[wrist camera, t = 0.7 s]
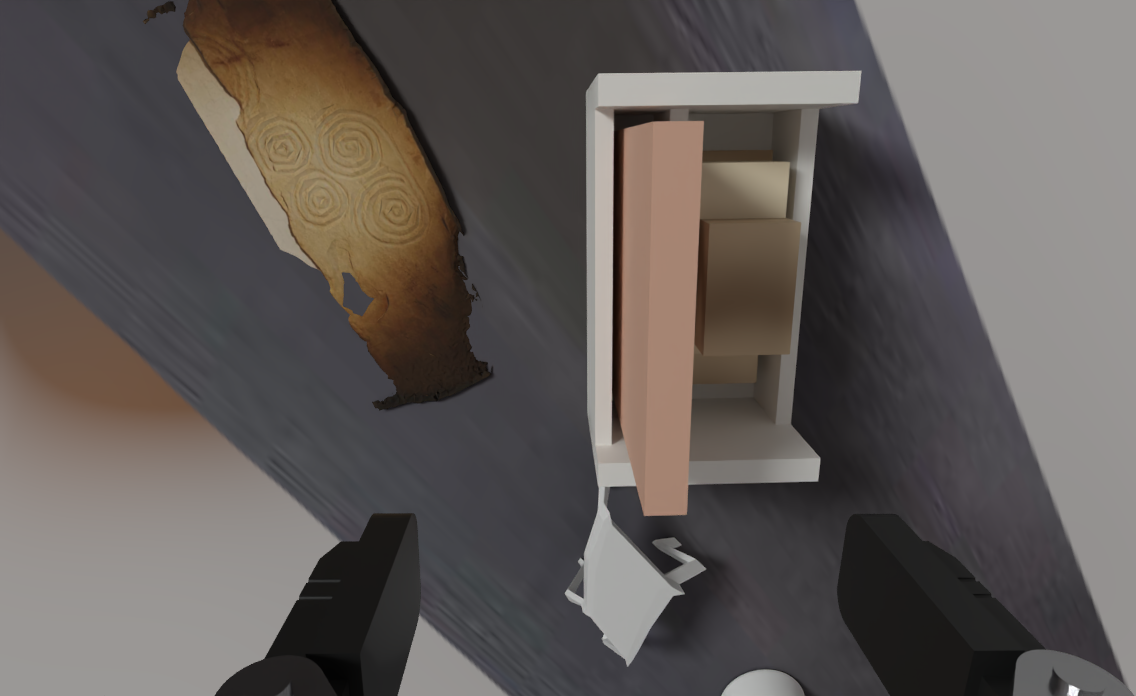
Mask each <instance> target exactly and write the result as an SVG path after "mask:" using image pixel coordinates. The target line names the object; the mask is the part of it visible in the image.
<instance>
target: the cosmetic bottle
mask: <svg viewBox="0 0 1136 696" xmlns="http://www.w3.org/2000/svg"><path fill="white" fill-rule="evenodd" d="M721 696H805V695H804V692H803V689H802V688H801V686H800V684H799V683H798V682H797V681H796V680H795V679H794V678H792V677H791V676H789V675H788V674H786V673H783V672H780V671H777V670H770V669H762V670H755V671H751V672H748V673H745V674H743V675H741V676H739V677H738V678H736V679H735V680H733V681H732V682H731V683H730V684H729V685H728V686H727V687H726V689H725V690H724V691H723V693H722V695H721Z"/></svg>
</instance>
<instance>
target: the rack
mask: <svg viewBox="0 0 1136 696" xmlns="http://www.w3.org/2000/svg"><path fill="white" fill-rule="evenodd" d="M860 80H861V71H803V72H709V73H614V74H598V75H597V76H596V78H595V79H594V81H593V82H592V84H591V85H590V87H589V88H588V90H587V91H586V196H587V414H588V421H589V427H590V434H591V441H592V448H593V455H594V462H595V469H596V475H597V482H598V487H612V486H636V482H635V478H634V475H633V471H632V467H631V463H630V459H629V455H628V451H627V448H626V444H625V440H624V436H623V432H622V428H621V424H620V421H619V417H618V413H617V409H616V405H615V401H614V398H613V394H612V299H613V151H614V131H617V130H621V129H625V128H629V127H633V126H637V125H641V124H645V123H649V122H656V121H704V130H703V151H714V150H773V159H772V161H784V162H790V169H789V182H788V194H787V207H786V218H788V219H791V220H794V221H798V222H801V231H800V242H799V254H798V265H797V277H796V289H795V300H794V312H793V323H792V335H791V346H790V354H785V355H758V366H757V379H756V383H727V384H692V406H691V429H690V452H689V475H688V485H692V484H733V483H773V482H813V481H818V477H819V468H820V457H819V456H818V455H817V454H816V453H815V451H814V450H813V449H812V448H811V447H810V446H809V445H808V443H807V442H806V441H805V440H804V439H803V438H802V437H801V435H800V434H799V433H798V432H797V431H796V430H795V429H794V427H793V426H792V425H791V417H792V406H793V394H794V383H795V372H796V361H797V350H798V339H799V328H800V317H801V306H802V295H803V283H804V272H805V261H806V250H807V239H808V228H809V217H810V206H811V195H812V184H813V173H814V161H815V150H816V139H817V128H818V117H819V109H821V108H828V107H835V106H842V105H849V104H856V103H858V99H859V89H860Z"/></svg>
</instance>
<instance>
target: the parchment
mask: <svg viewBox="0 0 1136 696" xmlns="http://www.w3.org/2000/svg"><path fill="white" fill-rule="evenodd" d="M175 8H176V7H175V5H174V3H173V2H169V1H168V2H167V3H165V4H164V5H162V6H157V7H156V8H155V9H154V10H149V11H148V12H147V15H148V19H145V20H144V21H143V22H144V23H145V24H146V23H147V22H148V21H149V18H155V17H156V13H158V12H159V13H161V14H163V13H165V12H166V13H168V12H169V11H171V12H172V11H174V12H175ZM184 15H185V19H184V22H183V27H184V31H185V33H186V34H187V35H188V37H189V38H190V41H189V42H188V43H187V45H186V46H185V48H184V49H183V52H182V55H181V59H180V62H179V65H178V68H177V71H176V72H177V74H178V80H179V82H180V83H181V85H182V86H183V88H184V90H185V92H186V93H187V95H188V97H189V98H190V100H191V102H192V103H193V105H194V107H195V109H196V110H197V112H198V114H199V115H200V117H201V118H202V120H203V122H204V124H205V125H206V127H207V129H208V130H209V131H210V134H211V135H212V136H213V138H214V140H215V142H216V143H217V145H218V146H219V148H220V150H221V152H222V153H223V154H224V156H225V159H226V160H227V162H228V163H229V165H230V166H231V168H232V170H233V172H234V174H235V175H236V177H237V178H238V179H239V181H240V183H241V185H242V187H243V188H244V190H245V191H246V193H247V194H248V196H249V198H250V200H251V201H252V204H253V205H254V206H255V208H256V210H257V211H258V213H259V215H260V216H261V218H262V219H263V221H264V223H265V224H266V226H267V228H268V229H269V231H270V233H271V235H273V238H274V240H275V241H276V243H277V245H278V246H279V248H280V249H281V250H283V251H286V252H288V253H290V254H292V255H294V256H297V257H298V258H300V259H301V260H302V261H304V262H305V263H306V264H308V265H309V266H311V267H314V268H316V269H318V270H320V271H321V272H322V273H323V275H324V277H325V278H326V280H328V282H329V285H330V288H331V290H330V293H331V294H332V296H333V297H334V298H335V299H336V301H337V302H338V303H339V304H340V305H341V307H342V308H344V309H345V310H346V311H347V312H348V313H349V314H350V317H349V323H350V325H351V327H352V328H353V330H354V331H355V332H356V333H357V334H358V335H359V337H360V338H361V339H362V340H364V341H366V342H367V347H368V351H369V353H370V354H371V356H372V357H373V358H374V359H375V361H376V363H377V364H378V365H379V366H380V368H381V369H382V370H383V371H384V372H385V373H386V374H387V375H388V379H392V380H394V383H393V384H394V385H395V386H396V391H397V392H396V394H395V395H393V397H387V398H386V399H385V400H384V402H383V401H381V402H380V401H375V402H372V403H373V405H374V406H375V408H378V409H379V410H382V409H388V408H390V407H396V406H398V405H401V404H405V403H407V402H415V403H421V402H423V401H438V400H440V399H441V398H444V397H446V396H451V395H453V394H455V393H457V392H459V391H461V390H462V389H464V388H466V387H468V386H470V385H472V384H475V383H477V382H479V381H480V380H482V379H484V378H486V377H488V376H490V375H491V373H490V372H488V369H487V368H486V364H488V362H483V361H482V362H481V361H478V360H476V357H474V354H473V352H470V349H471V348H472V347H471V345H470V343H469V338H468V337H467V335H466V331H467V330H468V329H469V328H470V324H469V317H467V316H469V315H470V314H471V312H472V306H471V300H472V302H473V300H474V295H471V294H469V293H468V291H467V290H466V286H465V283H464V282H463V280H467V278H468V277H467V278H466V277H465V276H464V275H463V274H462V272H464V271H465V268H464V263H463V260H462V258H463V256H460V255H459V254H458V245H457V241H458V234H459V231H460V232H461V233H462V234H463V232H462V231H461V229H462V228H461V225H460V223H459V221H458V219H457V217H456V216H455V215H454V212H453V211H452V209H451V208H450V206H449V202H448V200H447V198H446V196H445V192H444V190H443V188H442V185H441V183H440V181H439V179H438V177H437V176H436V174H435V172H434V170H433V168H432V165H431V163H430V161H429V160H428V157H427V155H426V153H425V151H424V149H423V147H422V146H421V144H420V142H419V140H418V138H417V136H416V134H415V132H414V130H413V129H412V126H411V125H410V122H409V120H408V117H407V113H406V110H405V109H404V108H403V107H402V106H401V105H400V104H399V103H398V102H397V101H395V100H394V99H393V97H392V95H391V93H390V91H389V89H388V87H387V85H386V84H385V83H384V81H383V80H382V78H381V76H380V74H379V72H378V70H377V68H376V67H375V66H374V64H373V63H372V62H371V60H370V59H369V57H368V56H367V55H366V54H365V52H364V51H363V49H362V47H361V46H360V45H359V44H358V43H357V42H356V41H355V39H354V37H353V36H352V33H351V32H350V31H349V29H348V27H347V26H346V25H345V23H344V21H343V20H342V19H341V17H340V15H339V14H338V12H337V10H336V8H335V6H334V5H333V4H332V1H331V0H189V2H188V6H187V9H186V12H185V13H184ZM458 266H460V267H459V268H460V269H461V271H462V272H460V270H459V269H458ZM342 272H347V273H351V274H352V275H353V277H354V278H355V279H356V280H355V281H357V282H358V283H359V285H360V287H361V289H362V291H363V292H365V293H366V294H367V295H368V296H369V297H372V298H374V300H373V301H372V302H371V304H370V305H369V306H368V308H367V310H366V312H365V314H364V315H363V316H360V315H357V314H353V311H352V310H350V309H348V308H346V307H343V296H344V293H343V284H344V280H343V277H342ZM464 274H465V272H464ZM462 279H463V280H462ZM472 289H473V290H474V291H476V290H475V288H474V286H473V284H472ZM476 292H477V291H476ZM477 296H478V292H477V293H476V297H477ZM475 300H476V301H477V299H475ZM491 372H492V369H491ZM481 373H483V375H482V374H481ZM437 397H438V398H437Z"/></svg>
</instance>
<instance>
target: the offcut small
mask: <svg viewBox="0 0 1136 696" xmlns="http://www.w3.org/2000/svg"><path fill="white" fill-rule="evenodd" d="M800 231H801V222H798V221H794V220H791V219H788V218H746V219H700V223H699V246H698V269H697V291H696V314H695V337H694V344H695V346H696V347H697V348H698V350H699V351H700V352H701V354H702V355H703V356H736V355H785V354H790V346H791V335H792V323H793V312H794V300H795V289H796V277H797V265H798V254H799V242H800Z"/></svg>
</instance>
